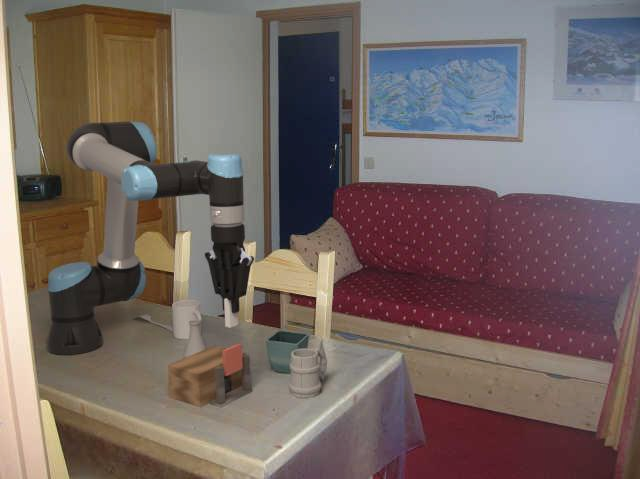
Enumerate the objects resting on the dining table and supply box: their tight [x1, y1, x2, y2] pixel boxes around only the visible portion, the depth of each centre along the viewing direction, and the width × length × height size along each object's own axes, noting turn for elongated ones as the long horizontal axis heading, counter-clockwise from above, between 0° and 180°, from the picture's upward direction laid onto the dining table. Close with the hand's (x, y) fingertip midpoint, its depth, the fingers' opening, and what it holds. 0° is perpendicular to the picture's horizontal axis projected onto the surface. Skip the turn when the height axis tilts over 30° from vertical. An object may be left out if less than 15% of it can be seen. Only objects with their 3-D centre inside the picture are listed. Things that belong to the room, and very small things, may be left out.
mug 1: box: [171, 299, 203, 340], centre depth 205 cm, size 8×12×10 cm, turn 41°
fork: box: [134, 314, 173, 332], centre depth 219 cm, size 3×21×3 cm, turn 51°
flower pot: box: [265, 330, 310, 375], centre depth 179 cm, size 9×9×9 cm
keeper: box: [222, 342, 243, 376], centre depth 161 cm, size 1×6×6 cm, turn 146°
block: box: [167, 345, 253, 408], centre depth 165 cm, size 14×16×9 cm
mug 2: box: [288, 336, 328, 399], centre depth 166 cm, size 8×12×12 cm, turn 141°
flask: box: [182, 320, 208, 359], centre depth 189 cm, size 7×7×10 cm
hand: (231, 325), depth 159 cm, fingers closed
